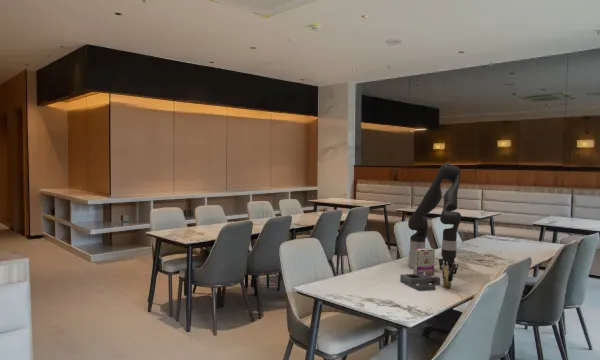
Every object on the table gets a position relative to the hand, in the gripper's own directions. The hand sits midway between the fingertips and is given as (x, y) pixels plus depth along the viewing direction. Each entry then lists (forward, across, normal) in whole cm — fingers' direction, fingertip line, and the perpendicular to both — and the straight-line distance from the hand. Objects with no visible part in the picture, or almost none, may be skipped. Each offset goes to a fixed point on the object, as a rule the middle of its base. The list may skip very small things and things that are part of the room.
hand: (447, 279), depth 238 cm
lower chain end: (+4, +7, +14) cm, 16 cm away
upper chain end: (+4, +11, +10) cm, 15 cm away
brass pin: (+4, 0, 0) cm, 4 cm away
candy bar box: (+5, +23, -1) cm, 23 cm away
